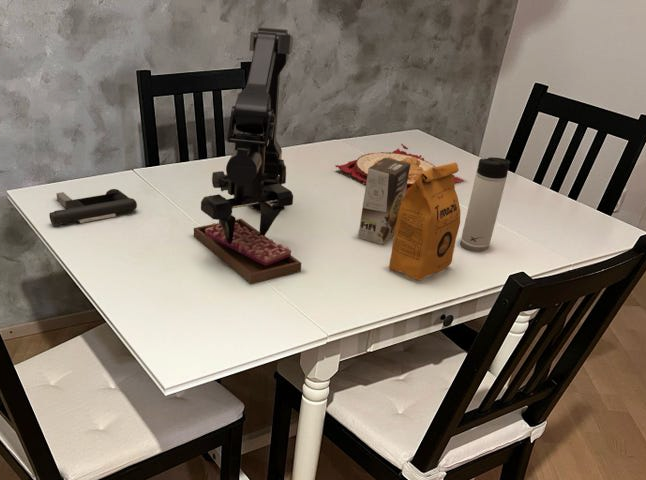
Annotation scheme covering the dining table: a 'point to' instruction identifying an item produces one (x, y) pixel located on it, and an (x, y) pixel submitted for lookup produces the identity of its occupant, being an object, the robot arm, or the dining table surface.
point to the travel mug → (484, 203)
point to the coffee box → (383, 199)
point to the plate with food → (366, 161)
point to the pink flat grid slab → (250, 244)
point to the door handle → (92, 207)
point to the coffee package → (427, 224)
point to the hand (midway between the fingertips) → (245, 239)
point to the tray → (247, 258)
